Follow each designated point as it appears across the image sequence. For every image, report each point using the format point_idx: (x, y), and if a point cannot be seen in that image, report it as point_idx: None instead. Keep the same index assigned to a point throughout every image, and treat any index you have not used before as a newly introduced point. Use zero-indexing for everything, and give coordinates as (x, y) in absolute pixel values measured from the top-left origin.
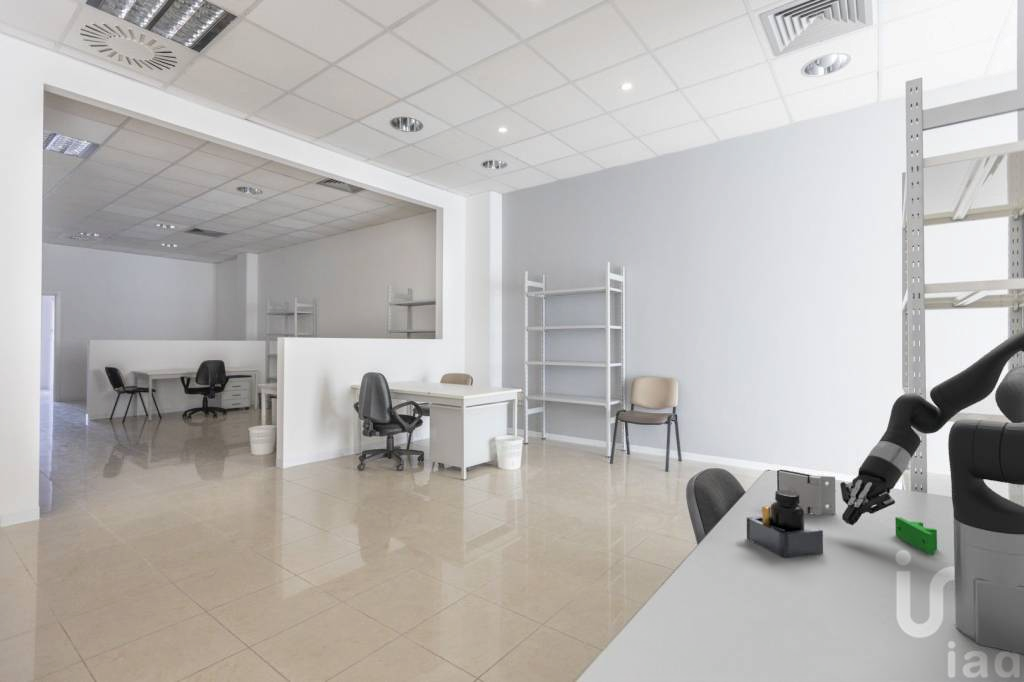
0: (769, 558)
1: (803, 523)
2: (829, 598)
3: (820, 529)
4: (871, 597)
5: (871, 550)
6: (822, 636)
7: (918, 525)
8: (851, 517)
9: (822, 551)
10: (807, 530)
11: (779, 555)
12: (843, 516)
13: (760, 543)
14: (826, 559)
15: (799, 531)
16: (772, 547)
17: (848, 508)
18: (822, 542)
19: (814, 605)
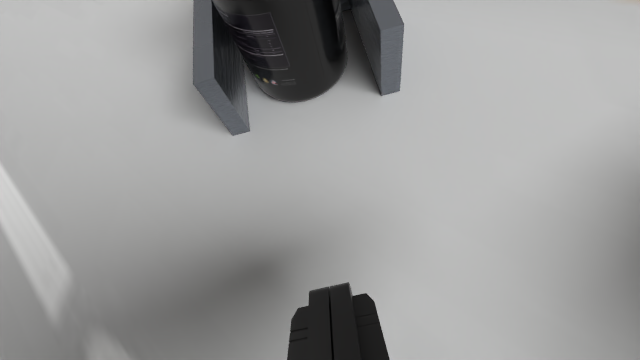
0: None
1: (226, 23)
2: (59, 47)
3: (203, 80)
4: (24, 113)
5: (222, 328)
6: (3, 2)
7: None
8: (304, 318)
9: (229, 129)
10: (205, 39)
11: None
12: (345, 288)
13: None
14: (195, 123)
15: (204, 15)
16: None
17: (354, 340)
18: (216, 112)
19: (56, 19)
